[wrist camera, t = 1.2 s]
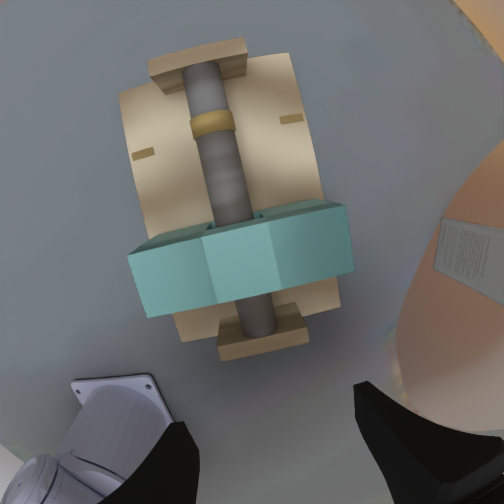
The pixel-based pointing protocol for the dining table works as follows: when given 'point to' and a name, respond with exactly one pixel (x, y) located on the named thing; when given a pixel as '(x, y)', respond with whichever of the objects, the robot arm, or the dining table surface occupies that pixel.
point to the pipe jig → (226, 174)
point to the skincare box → (472, 256)
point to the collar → (242, 257)
